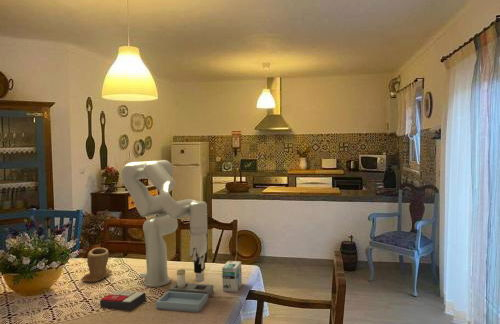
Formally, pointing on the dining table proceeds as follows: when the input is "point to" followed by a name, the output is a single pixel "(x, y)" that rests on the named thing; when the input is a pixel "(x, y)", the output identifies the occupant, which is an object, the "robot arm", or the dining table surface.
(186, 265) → the dining table surface
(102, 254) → the stone cup
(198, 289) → the block
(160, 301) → the parts tray
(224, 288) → the light bulb box
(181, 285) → the fuse
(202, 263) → the cylinder
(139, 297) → the calculator
